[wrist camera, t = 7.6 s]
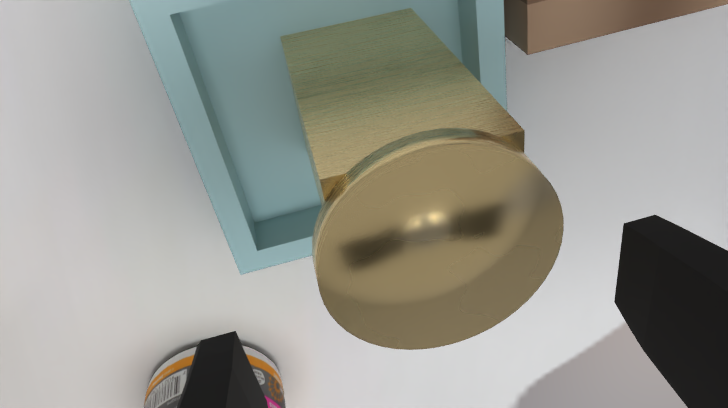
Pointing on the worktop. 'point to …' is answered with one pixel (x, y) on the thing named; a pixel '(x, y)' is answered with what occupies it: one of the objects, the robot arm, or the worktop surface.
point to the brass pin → (416, 186)
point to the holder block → (586, 19)
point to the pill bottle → (175, 372)
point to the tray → (277, 101)
